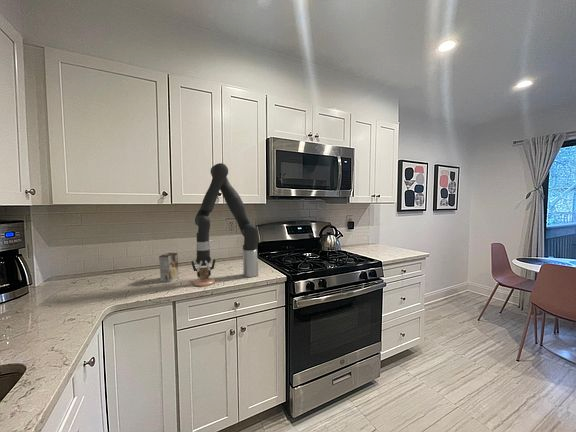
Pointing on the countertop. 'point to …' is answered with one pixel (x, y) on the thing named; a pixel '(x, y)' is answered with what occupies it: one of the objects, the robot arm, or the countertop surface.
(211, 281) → the dish
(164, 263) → the coffee box
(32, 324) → the countertop surface
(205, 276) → the walnut block
